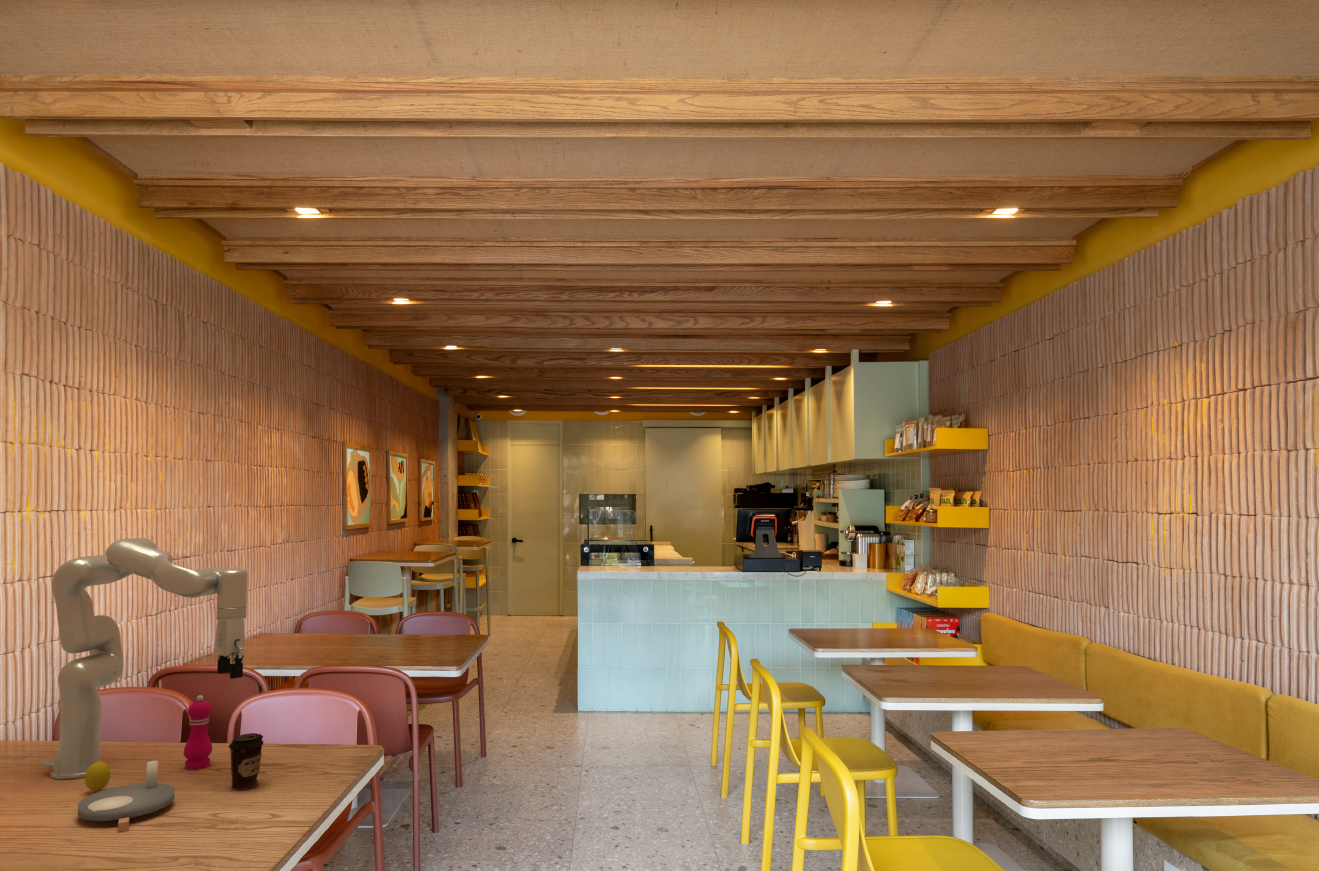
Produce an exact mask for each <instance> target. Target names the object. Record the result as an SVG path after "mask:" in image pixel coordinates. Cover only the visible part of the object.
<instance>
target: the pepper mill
mask: <svg viewBox="0 0 1319 871" xmlns="http://www.w3.org/2000/svg"><path fill="white" fill-rule="evenodd" d="M211 712H212V705H211V703H210V701H208V700H205V698H204V696H203V695H202V694H200V695H198V696H196V701H193V702H191V703H190V705H189V706H188V708H187V715H188V717H189V718H190V719H189V723H188V725H190V734H189V736H188V739H187V741H186V744H185V745H184V748H183V757H184V758H185V759H186V760H185V762H184V768H185V770H191V771H194V770H201V769H205V768H207V767H209V766H210V765H211V758H210V757H209V756H210V755H211V754H212V752H213V744H212V741H211V739H210V736H209V733H208V723H209V722H210V716H209V715H210V714H211Z"/></svg>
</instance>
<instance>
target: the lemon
mask: <svg viewBox="0 0 1319 871" xmlns="http://www.w3.org/2000/svg"><path fill="white" fill-rule="evenodd" d="M110 780H111V768H110V766H109V765H108V763H106V762H104V761H101V760H99V761H97V762H96V763H94V764H92V765H91V766H90V767H89V768H88V770H87V772H86V775H85V777H84V783H85V784H84V785H85V786H86V787H87V788H88V789H89V790H91V791H93V792H94V793H97V792H100V791H101V789H104V788H105V787H106V786H107V785H108V784H109V782H110Z"/></svg>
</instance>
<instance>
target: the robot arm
mask: <svg viewBox="0 0 1319 871" xmlns="http://www.w3.org/2000/svg"><path fill="white" fill-rule="evenodd" d="M131 575H136V576H138V577H141V578H145V579H146V580H147V579H148V580H150V581H152V582H153V583H154V584H155V585H156V586H157V587H158V588H160V589H161V590H163V591H165V592H168V593H171V594H175V595H178V596H181V597H184V598H190V599H191V598H193V599H194V598H200V597H205V596H206V597H207V596H211V595H215V594H216V621H217V623H216V627H215V628H216V629H215V640H214V652H215V654H217V670H216V671H217V672H216V673H217V674H219V675H220V674H221V675H222V674H227V673H229V679H230V680H233V679H240V678H243V675H244V662H245V660H244V657H245V656H244V654H245V653H244V652H245V637H246V636H245V634H246V633H245V621H244V620H245V619H246V618H247V611H248V610H247V607H248V606H247V603H248V572H247V570H246V569H244V568H226V569H225V568H221V567H219V568H218V567H207V568H200V569H194V570H193V569H190V568H186V567H183V566H180V565H176V564H174V562H173V555H172V554H171V553H170V552H169V551H168V552H167V551H165V550H162V549H159V548H158V547H157V545H156V543H155V542H154V541H153V540H151V539H148V538H145V537H144V538H143V537H137V538H124V539H118V540H115V541H114V542H112V543H110V545H109V546H108V547H107V548H106V551H105V553H104V554H102V555H101V554H99V555H88V556H87V555H86V556H79V557H76V558H72V559H70V560H67V561H65V562H64V563H62V564H61V565H60V566H59V567H58V568H57V569H56V571H55V572H54V574H53V576H52V580H51V589H52V594H53V599H54V603H55V607H56V618H57V624H58V626H57V627H58V636H59V642H60V647H61V648H62V650H63V651H64V652H65V653H68V654H71V655H72V654H73V655H74V654H80V653H85V652H88V654H89V655H85V656H82V657H79V658H76V659H73V660H71V661H68V662H67V663H65V665H63V667H61V669H60V670H59V673H58V677H57V685H58V690H59V696H60V699H59V700H60V717H59V719H60V720H59V735H58V736H59V738H58V755H57V757H56V758H54V757H53V758H52V757H49V758H43V762H42V766H43V768H51V767H52V769H53V770H51V771H50V777H51V778H52V779H56V780H70V779H79V778H85V775H86V772H87V770H88V768H89V767H90V766H91V765H92V764H94V763H96V762H97V761H100V752H101V750H100V749H101V733H102V732H101V729H102V701H101V698H100V697H101V696H100V694H99V692H98V688H101V687H105V686H107V685H111V684H112V683H115V682H116V681H117V680H118V679H120V677H121V676H122V674H123V671H124V655H123V647H122V638H121V630H120V628H119V626H118V624H117V622H116V620H114V619H113V617H110V616H108V615H104V614H102V615H101V614H98V615H95V611H94V604H93V599H92V598H91V596H90V594H89V593H88V592H87V590H86V588H87V587H92V586H94V587H95V586H99V585H100V586H101V585H107V584H112V583H115V582H118V581H121V580H123V579H124V578H127V577H128V576H131Z"/></svg>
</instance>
